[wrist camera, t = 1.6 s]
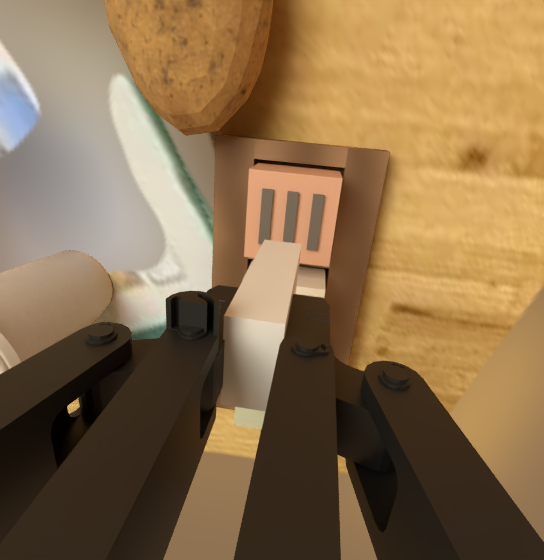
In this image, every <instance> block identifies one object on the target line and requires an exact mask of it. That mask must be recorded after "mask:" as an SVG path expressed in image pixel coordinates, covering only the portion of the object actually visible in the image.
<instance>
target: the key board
mask: <svg viewBox="0 0 544 560" xmlns="http://www.w3.org/2000/svg"><path fill="white" fill-rule="evenodd" d="M389 155H390V152H389V151H386V150H378V149H367V148H357V147H347V146H336V145H326V144H315V143H305V142H294V141H284V140H274V139H263V138H253V137H242V136H232V135H216V141H215V183H214V223H213V265H212V288H213V287H215V286H217V285H223V286H230V287H238V288H239V287H240V285H241V283H242V281H243V278H244V276H245V274H246V272H247V270H248V268H249V266H250V264H251V259H254V258H252V257H244V247H245V230H246V213H247V196H248V179H249V169H250V168H251V167H253V166H255V165H256V164H258V159H262V160H272V161H282V162H292V163H302V164H312V165H322V166H332V167H342V168H343V172H342V178H343V180H342V186H341V193H340V199H339V206H338V212H337V218H336V225H335V231H334V238H333V244H332V251H331V257H330V264H329V267H326V266H318V265H309V264H301V263H299V265H305V266H313V267H321V268H328V270H327V276H326V283H325V296H324V299H325V301H326V302H327V303H328V304H329V305H330V345H331V346H332V348H333V351H334V356H335V357H336V358H337V359H338V360H339V361H341V362H343V363H344V364H346V365H348V363H349V358H350V353H351V348H352V343H353V337H354V332H355V327H356V322H357V317H358V312H359V307H360V302H361V297H362V292H363V287H364V282H365V277H366V271H367V266H368V261H369V256H370V251H371V246H372V241H373V236H374V231H375V226H376V221H377V216H378V211H379V205H380V200H381V195H382V190H383V185H384V180H385V175H386V170H387V165H388V160H389ZM216 407H220V408H226V409H233V410H235V407H234V406H228V405H221V392H220V394H219V397H218V399H217V402H216Z"/></svg>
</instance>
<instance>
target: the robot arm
mask: <svg viewBox="0 0 544 560" xmlns="http://www.w3.org/2000/svg"><path fill="white" fill-rule="evenodd" d="M301 245H302V244H297V243H289V242H281V241H272V240H264V242H263V243H262V245H261V247H260V249H259V251H258V253H257V255H256V257H255V258H254V260H253V262H252V264H251V266H250V268H249V270H248V272H247V273H246V275H245V277H244V279H243V281H242V283H241V285H240V287H239V288H238V287H230V286H223V285H217V286H215V287H213V288H212V289H210V290H208V291H207V292H206V293H205V292H201V291H186V292H179V293H176V294H173V295H171V296H169V297H168V298H166V323H167V329H166V330H165V331H164V333H163V334H162V335H161V337H160V338H157V339H145V340H132V336H131V331H130V330H129V328H128V327H126V326H124V325H122V324H118V323H112V322H107V323H105V322H102V323H98V324H93V325H89V326H87V327H84V328H82V329H80V330H78V331H76V332H74V333H73V334H71V335H69V336H67V337H65V338H64V339H62V340H60V341H58V342H57V343H55V344H53V345H51V346H49V347H48V348H46V349H44V350H42V351H41V352H39V353H37V354H35V355H33V356H32V357H30V358H28V359H26V360H25V361H23V362H21V363H19V364H17V365H16V366H14V367H12V368H10V369H9V370H7V371H5V372H3V373H1V374H0V560H163V558H164V556H165V553H166V550H167V548H168V545H169V542H170V540H171V537H172V534H173V531H174V529H175V526H176V523H177V521H178V518H179V515H180V512H181V510H182V507H183V505H184V502H185V499H186V497H187V494H188V491H189V488H190V486H191V483H192V480H193V478H194V475H195V472H196V469H197V467H198V464H199V462H200V459H201V456H202V453H203V451H204V448H205V445H206V443H207V440H208V437H209V435H210V432H211V429H212V426H213V424H214V421H215V418H216V402H217V399H218V397H219V394H220V392H221V405H228V406H234V407H240V408H246V409H252V410H258V411H265V416H264V421H263V425H262V430H261V435H260V439H259V444H258V449H257V453H256V458H255V463H254V468H253V472H252V477H251V481H250V486H249V490H248V495H247V500H246V504H245V509H244V514H243V519H242V523H241V528H240V532H239V537H238V542H237V547H236V551H235V556H234V560H341V554H340V553H341V552H340V521H339V493H338V492H339V490H338V457H337V454H338V455H340V456H342V457H344V458H345V459H346V467H347V470H348V473H349V476H350V479H351V482H352V484H353V488H354V491H355V494H356V497H357V500H358V502H359V506H360V509H361V512H362V515H363V517H364V521H365V524H366V527H367V530H368V533H369V536H370V539H371V542H372V544H373V547H374V551H375V553H376V556H377V559H378V560H544V542H543V541H542V539H541V538H540V537H539V535H538V534H537V533H536V531H535V530H534V528H533V527H532V526H531V524H530V523H529V522H528V521H527V519H526V518H525V516H524V515H523V514H522V513H521V511H520V510H519V508H518V507H517V505H516V504H515V503H514V501H513V500H512V499H511V497H510V496H509V495H508V493H507V492H506V491H505V489H504V488H503V486H502V485H501V484H500V483H499V481H498V480H497V479H496V477H495V476H494V474H493V473H492V472H491V470H490V469H489V467H488V466H487V465H486V463H485V462H484V461H483V459H482V458H481V457H480V455H479V454H478V453H477V451H476V450H475V448H473V446H472V444H471V443H470V442H469V440H468V439H467V438H466V436H465V435H464V434H463V432H462V431H461V429H460V428H459V427H458V425H457V424H456V423H455V422H454V420H453V419H452V417H451V416H450V415H449V413H448V412H447V411H446V409H445V408H444V406H443V405H442V404H441V402H440V401H439V400H438V398H437V397H436V396H435V394H434V393H433V392H432V390H431V389H430V387H429V386H428V385H427V383H426V382H425V381H424V379H423V378H422V377H421V376H420V375H419V374H418V373H417V372H416V371H414V370H412V369H410V368H409V367H407V366H405V365H402V364H399V363H396V362H390V361H378V362H373V363H371V364H369V365H367V367H366V369H365V371H361V370H358V369H355V368H353V367H350V366H348V365H346V364H344V363H343V362H341V361H339V360H338V359H337V358H336V357H335V356H334V351H333V348H332V346H331V345H330V305H329V304H328V303H327V302H326V301H325V299H324V298H322V297H314V296H307V295H299V294H296V287H297V279H298V270H299V262H300V254H301ZM77 398H79V405H80V407H79V408H78V409H77V410H76V411H74V412H72V413H70V414H69V413H68V410H67V406H68V405H69V404H70V403H72V402H73V401H74V400H76V399H77Z"/></svg>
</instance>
